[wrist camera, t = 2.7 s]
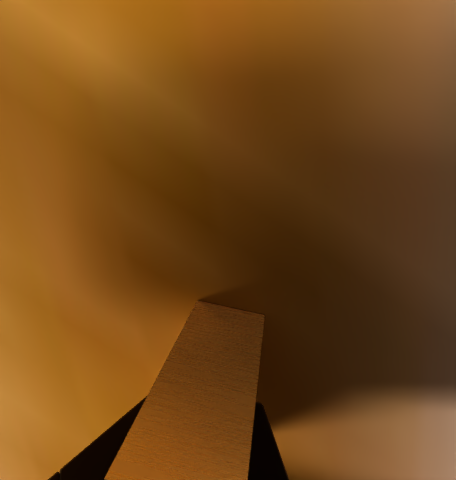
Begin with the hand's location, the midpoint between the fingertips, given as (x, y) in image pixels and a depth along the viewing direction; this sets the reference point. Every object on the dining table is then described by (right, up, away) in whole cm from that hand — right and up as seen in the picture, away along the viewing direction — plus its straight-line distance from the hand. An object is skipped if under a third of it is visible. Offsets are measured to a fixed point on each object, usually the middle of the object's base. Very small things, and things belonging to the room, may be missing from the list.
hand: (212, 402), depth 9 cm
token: (0, 0, +1) cm, 1 cm away
